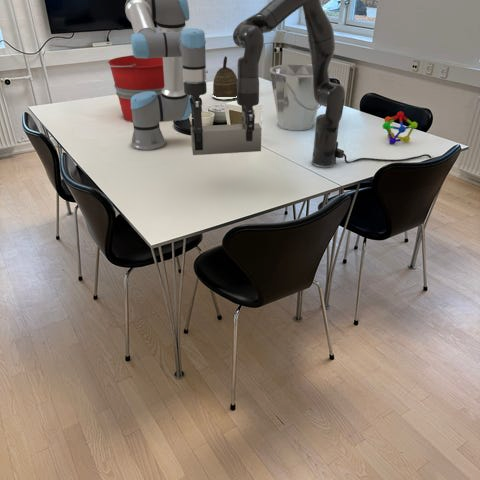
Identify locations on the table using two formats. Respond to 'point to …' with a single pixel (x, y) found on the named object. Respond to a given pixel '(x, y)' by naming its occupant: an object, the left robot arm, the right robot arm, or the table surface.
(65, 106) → the table surface
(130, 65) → the bucket
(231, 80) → the bell
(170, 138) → the table surface
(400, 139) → the educational toy
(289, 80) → the bucket
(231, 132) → the bar
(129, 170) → the table surface
